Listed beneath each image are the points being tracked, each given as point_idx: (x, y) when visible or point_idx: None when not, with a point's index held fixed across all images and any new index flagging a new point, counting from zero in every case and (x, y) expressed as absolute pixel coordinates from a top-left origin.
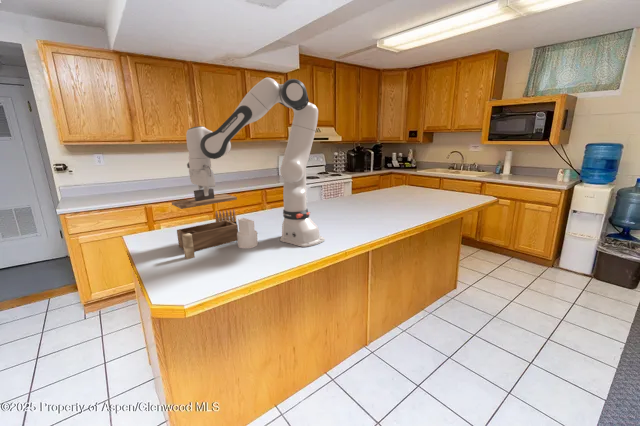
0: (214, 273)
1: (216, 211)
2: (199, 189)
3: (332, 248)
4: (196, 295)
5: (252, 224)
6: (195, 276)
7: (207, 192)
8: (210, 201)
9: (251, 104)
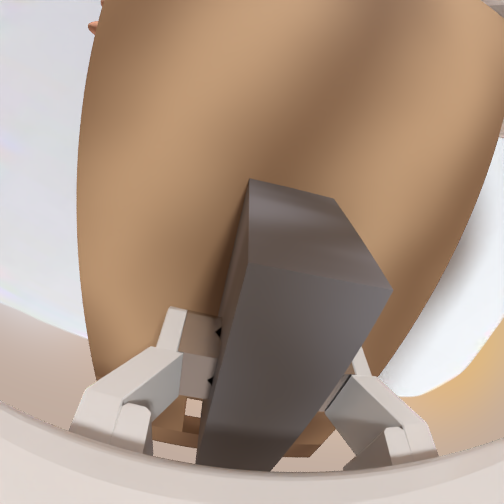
0: (454, 306)
1: (93, 25)
2: (154, 414)
3: None
4: (463, 358)
5: None
6: (424, 335)
7: (363, 376)
8: (413, 323)
9: None
